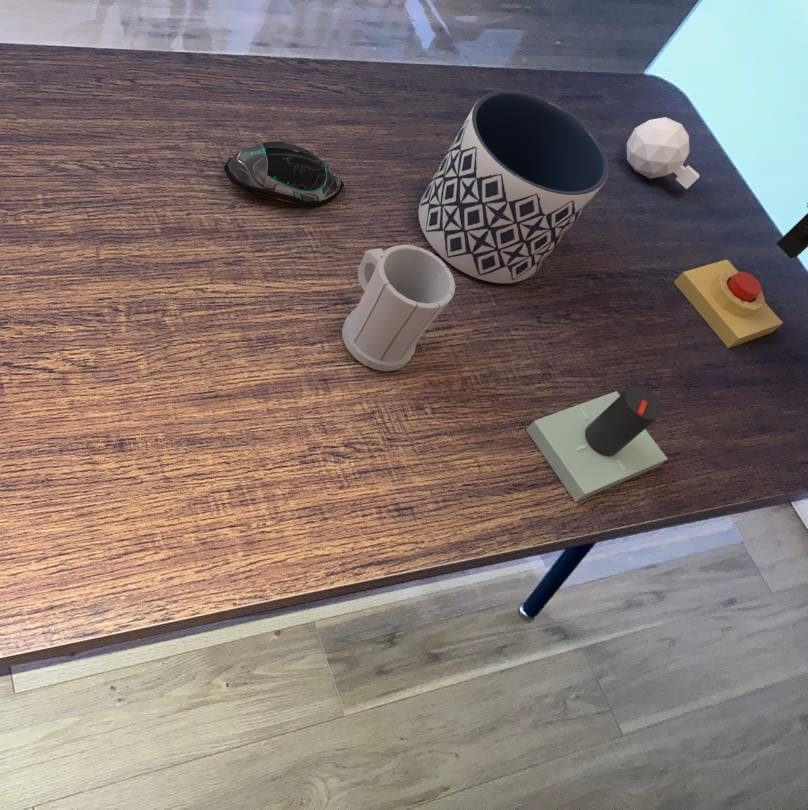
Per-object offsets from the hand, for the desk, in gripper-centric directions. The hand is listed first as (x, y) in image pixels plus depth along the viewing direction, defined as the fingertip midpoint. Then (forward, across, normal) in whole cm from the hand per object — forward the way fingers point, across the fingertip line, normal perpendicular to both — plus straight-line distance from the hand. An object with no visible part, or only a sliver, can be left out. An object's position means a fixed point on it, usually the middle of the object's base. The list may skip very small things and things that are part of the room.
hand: (786, 249), depth 118 cm
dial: (+10, +37, +12) cm, 40 cm away
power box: (+12, 0, 0) cm, 12 cm away
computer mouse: (+12, +55, -35) cm, 66 cm away
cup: (+13, +56, -10) cm, 58 cm away
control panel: (+13, +37, +12) cm, 41 cm away
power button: (+9, 0, 0) cm, 9 cm away
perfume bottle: (+12, -7, -25) cm, 29 cm away
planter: (+12, +31, -21) cm, 40 cm away
